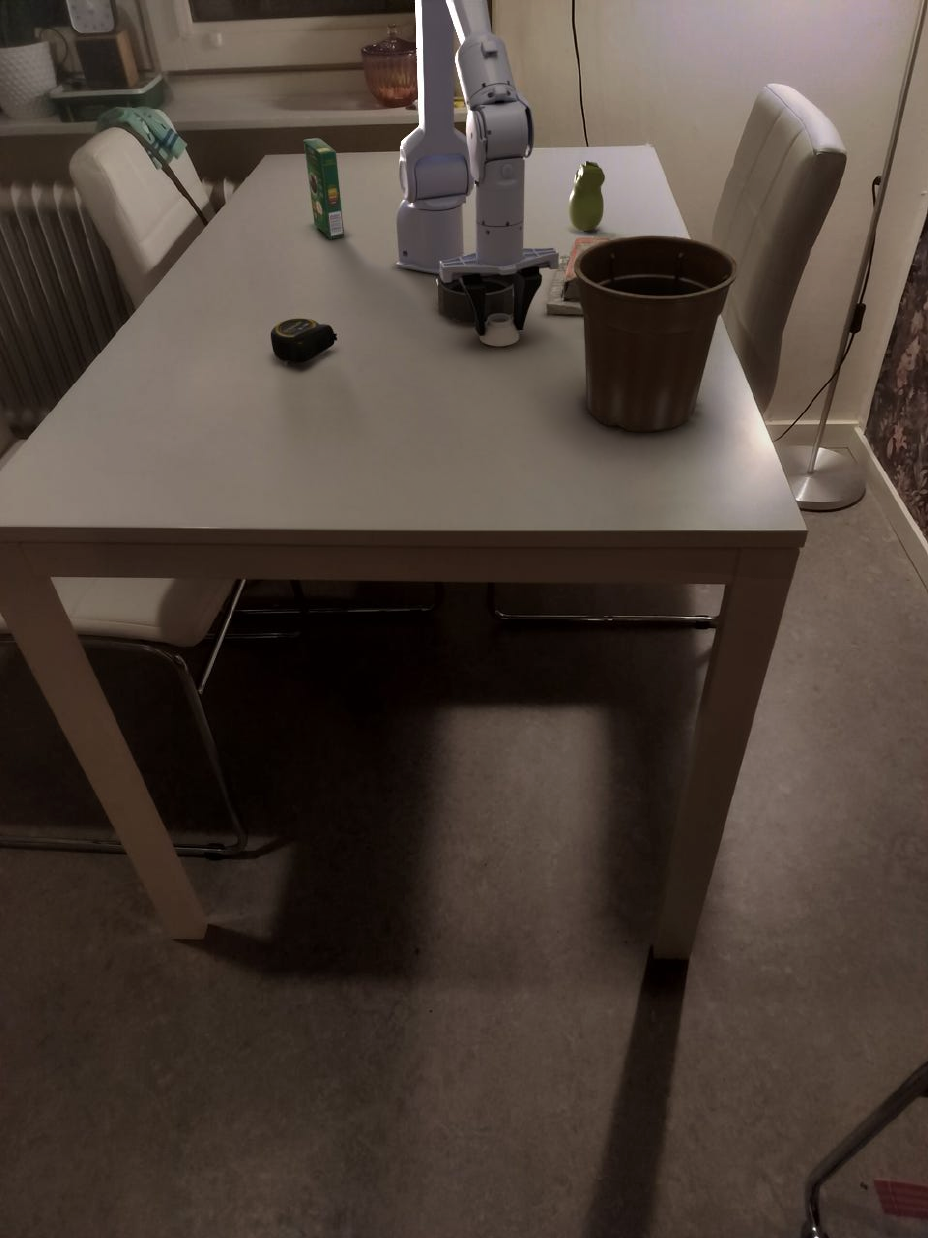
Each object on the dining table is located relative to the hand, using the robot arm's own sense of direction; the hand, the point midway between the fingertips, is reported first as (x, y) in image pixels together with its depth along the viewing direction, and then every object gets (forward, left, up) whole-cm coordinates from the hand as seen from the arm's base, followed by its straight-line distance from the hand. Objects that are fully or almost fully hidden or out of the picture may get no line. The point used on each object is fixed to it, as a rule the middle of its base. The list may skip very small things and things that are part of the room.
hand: (499, 329), depth 112 cm
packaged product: (+4, +20, -2) cm, 20 cm away
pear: (-6, +42, -2) cm, 43 cm away
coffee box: (-44, +24, -2) cm, 50 cm away
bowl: (-7, +8, -1) cm, 10 cm away
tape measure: (-20, -14, -2) cm, 25 cm away
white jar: (0, 0, -2) cm, 2 cm away
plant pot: (+22, -8, -2) cm, 24 cm away
